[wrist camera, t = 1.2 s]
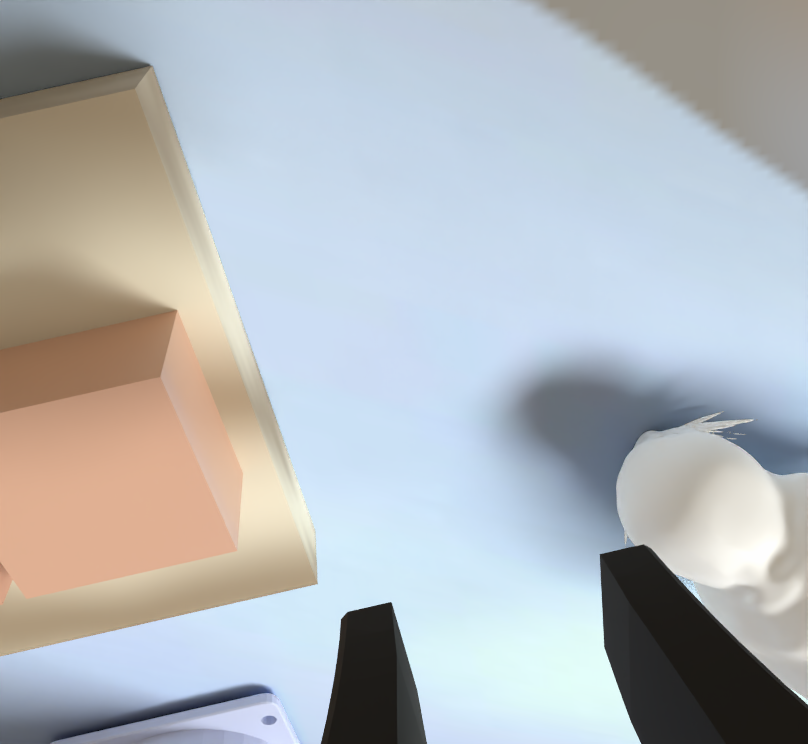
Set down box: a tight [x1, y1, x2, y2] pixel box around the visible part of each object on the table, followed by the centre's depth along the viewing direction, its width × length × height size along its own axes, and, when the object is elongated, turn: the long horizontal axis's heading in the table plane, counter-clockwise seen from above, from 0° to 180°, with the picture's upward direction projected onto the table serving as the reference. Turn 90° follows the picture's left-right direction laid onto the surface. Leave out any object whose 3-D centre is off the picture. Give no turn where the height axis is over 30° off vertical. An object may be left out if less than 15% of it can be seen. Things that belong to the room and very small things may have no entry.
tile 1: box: [0, 310, 243, 599], centre depth 15 cm, size 4×4×2 cm
